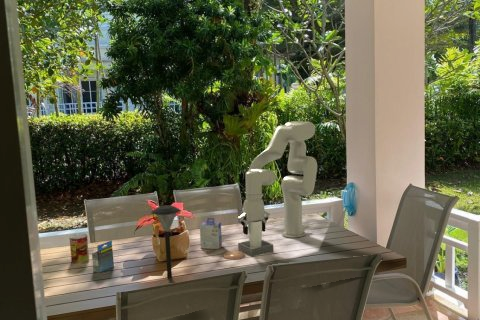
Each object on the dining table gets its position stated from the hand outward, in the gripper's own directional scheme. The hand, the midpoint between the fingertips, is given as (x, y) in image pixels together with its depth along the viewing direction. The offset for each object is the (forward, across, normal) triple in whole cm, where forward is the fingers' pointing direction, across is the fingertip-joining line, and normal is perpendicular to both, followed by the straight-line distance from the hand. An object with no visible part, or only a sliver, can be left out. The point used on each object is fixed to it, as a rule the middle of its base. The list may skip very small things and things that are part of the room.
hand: (254, 232), depth 226 cm
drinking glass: (+9, -1, 0) cm, 9 cm away
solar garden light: (+11, +47, +7) cm, 48 cm away
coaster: (+10, +11, 0) cm, 15 cm away
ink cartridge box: (+10, +14, -18) cm, 25 cm away
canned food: (+11, +73, -38) cm, 83 cm away
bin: (+9, -1, 0) cm, 9 cm away
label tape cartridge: (+11, +67, -20) cm, 70 cm away
